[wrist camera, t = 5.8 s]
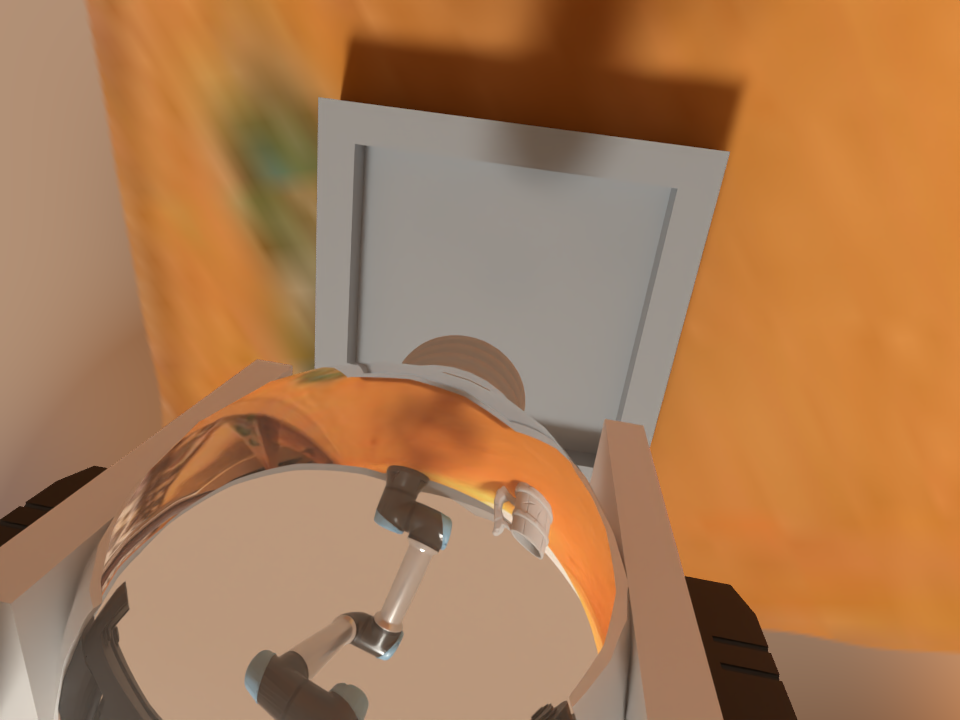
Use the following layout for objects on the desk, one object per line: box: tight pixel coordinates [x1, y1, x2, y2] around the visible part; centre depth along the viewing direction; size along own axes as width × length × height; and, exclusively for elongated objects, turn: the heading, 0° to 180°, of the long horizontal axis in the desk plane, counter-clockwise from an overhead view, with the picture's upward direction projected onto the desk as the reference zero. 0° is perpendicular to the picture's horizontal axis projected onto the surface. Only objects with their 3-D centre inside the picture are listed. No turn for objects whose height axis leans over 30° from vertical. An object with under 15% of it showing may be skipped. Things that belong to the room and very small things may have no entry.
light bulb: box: [54, 335, 632, 720], centre depth 10 cm, size 7×7×12 cm
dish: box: [315, 97, 730, 483], centre depth 20 cm, size 12×12×2 cm
